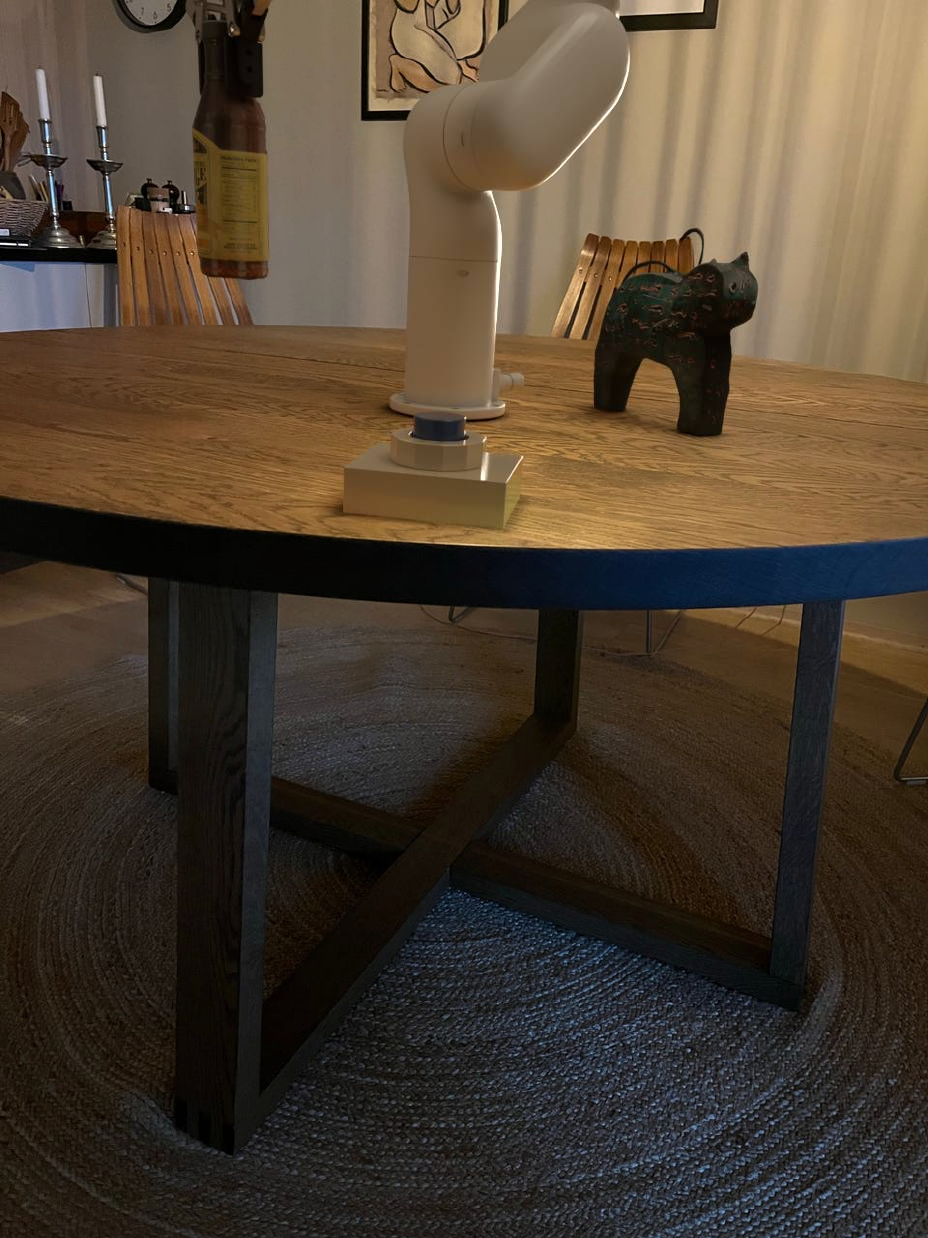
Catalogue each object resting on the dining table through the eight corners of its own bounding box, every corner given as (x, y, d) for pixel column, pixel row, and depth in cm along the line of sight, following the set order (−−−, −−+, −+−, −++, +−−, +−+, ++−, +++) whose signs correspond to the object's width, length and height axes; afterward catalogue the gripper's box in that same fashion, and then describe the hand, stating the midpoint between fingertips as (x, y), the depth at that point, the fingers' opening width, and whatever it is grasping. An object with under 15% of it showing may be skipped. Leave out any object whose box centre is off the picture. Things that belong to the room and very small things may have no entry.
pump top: (419, 434, 71) (420, 409, 71) (468, 438, 71) (470, 413, 70) (407, 443, 68) (408, 417, 67) (459, 447, 67) (460, 422, 67)
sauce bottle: (205, 274, 92) (195, 28, 85) (273, 278, 93) (269, 33, 85) (191, 278, 86) (180, 13, 79) (265, 281, 87) (260, 19, 79)
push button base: (377, 483, 76) (378, 418, 74) (520, 498, 74) (525, 431, 72) (342, 513, 68) (343, 439, 66) (503, 529, 66) (508, 455, 64)
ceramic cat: (741, 437, 104) (773, 231, 96) (695, 440, 100) (725, 227, 93) (617, 405, 119) (637, 226, 112) (575, 407, 116) (592, 222, 109)
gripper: (321, -182, 73) (321, 96, 80) (220, -131, 85) (227, 108, 92) (227, -214, 69) (235, 84, 76) (134, -155, 81) (148, 97, 88)
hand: (231, 94), depth 84 cm, fingers closed on sauce bottle, 4 cm apart
